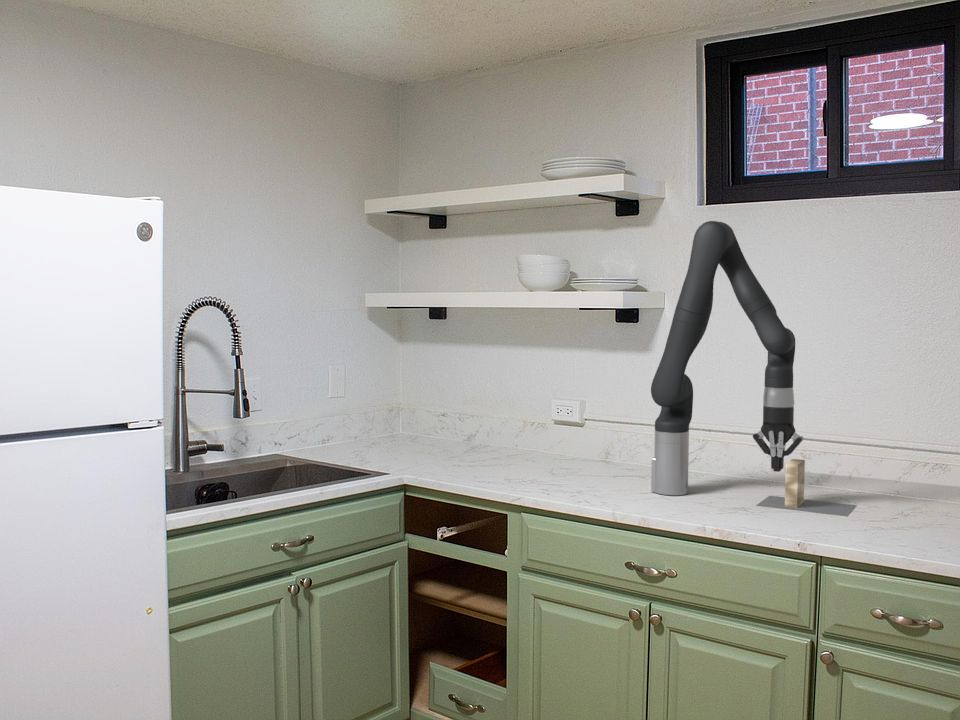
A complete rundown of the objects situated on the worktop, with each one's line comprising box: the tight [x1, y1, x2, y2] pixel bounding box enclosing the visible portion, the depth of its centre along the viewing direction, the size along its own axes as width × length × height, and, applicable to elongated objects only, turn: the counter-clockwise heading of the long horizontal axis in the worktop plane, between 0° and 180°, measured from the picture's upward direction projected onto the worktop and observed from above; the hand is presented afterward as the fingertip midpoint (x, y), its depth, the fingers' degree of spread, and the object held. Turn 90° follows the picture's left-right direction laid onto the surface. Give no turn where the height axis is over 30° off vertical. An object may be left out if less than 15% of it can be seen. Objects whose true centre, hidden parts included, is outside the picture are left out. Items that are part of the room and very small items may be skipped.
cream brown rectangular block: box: [784, 458, 806, 508], centre depth 233 cm, size 3×8×11 cm, turn 149°
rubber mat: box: [755, 495, 858, 518], centre depth 232 cm, size 22×14×1 cm, turn 59°
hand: (777, 470), depth 235 cm, fingers closed
